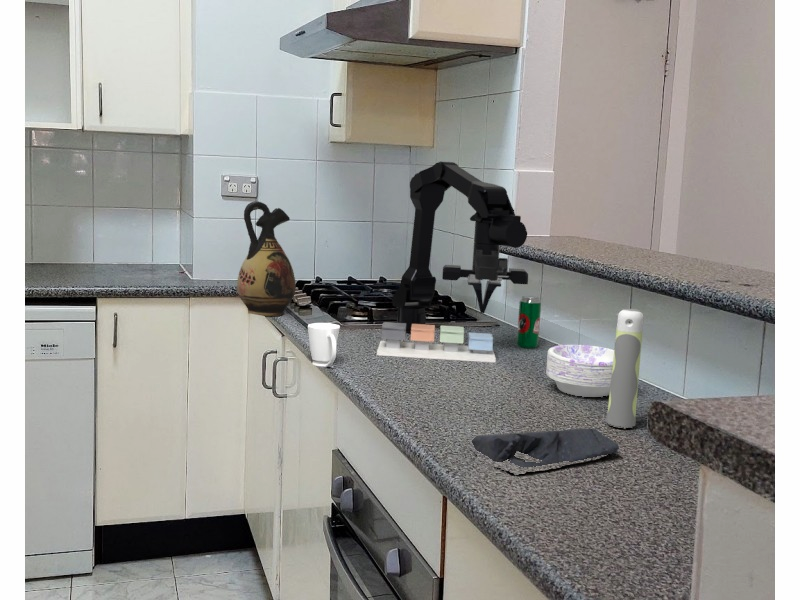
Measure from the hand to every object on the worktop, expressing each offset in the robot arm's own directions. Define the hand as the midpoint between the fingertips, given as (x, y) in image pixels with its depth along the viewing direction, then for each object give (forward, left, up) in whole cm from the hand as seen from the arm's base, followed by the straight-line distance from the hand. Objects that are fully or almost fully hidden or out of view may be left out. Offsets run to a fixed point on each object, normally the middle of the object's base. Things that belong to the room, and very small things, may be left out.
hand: (482, 312), depth 195 cm
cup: (-17, -33, -10) cm, 39 cm away
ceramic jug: (-67, 0, -10) cm, 68 cm away
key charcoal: (-16, -11, -7) cm, 21 cm away
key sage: (-6, -3, -7) cm, 9 cm away
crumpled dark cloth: (+41, -52, -10) cm, 67 cm away
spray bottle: (+45, -29, -10) cm, 54 cm away
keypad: (-8, -5, -10) cm, 14 cm away
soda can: (+3, +18, -10) cm, 21 cm away
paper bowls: (+31, -12, -10) cm, 35 cm away
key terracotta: (-11, -7, -7) cm, 15 cm away
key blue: (0, 0, -8) cm, 8 cm away
